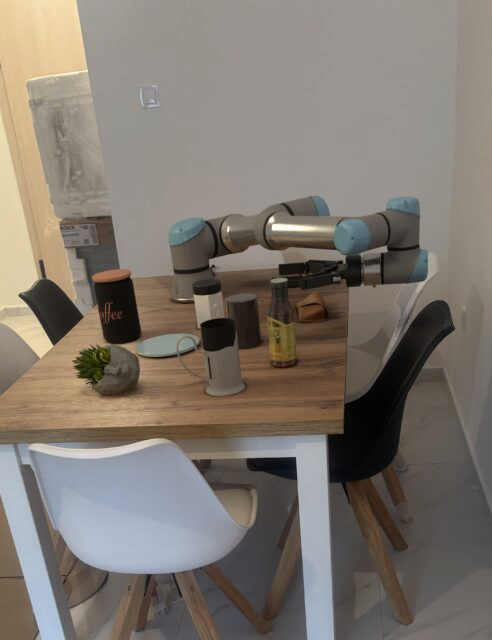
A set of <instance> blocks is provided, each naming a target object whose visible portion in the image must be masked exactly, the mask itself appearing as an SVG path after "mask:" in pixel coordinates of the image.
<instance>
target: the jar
mask: <svg viewBox="0 0 492 640" xmlns="http://www.w3.org/2000/svg"><path fill="white" fill-rule="evenodd" d="M222 287H223V286H222V281H221V280H220V279H218V278H214V279H205V280H200V281H196V282H194V283H193V284H192V289H193V294H194V309H195V316H196V324H197V329H198V330H201V328H200V324H201V323H203V322H205V321H207V320H211V319H216V318H226V317H225V306H224V299H223V291H222V290H223V289H222Z"/></svg>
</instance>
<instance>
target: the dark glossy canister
mask: <svg viewBox="0 0 492 640" xmlns="http://www.w3.org/2000/svg"><path fill="white" fill-rule="evenodd" d="M225 307H226V308H225V309H226V316H227V317H226V318H230V319H233V320H234V321H235V330H236V333H237V340H238V349H239V350H246V349H247V350H248V349H252V348H256V347H259V346H260V345H261V344H262V334H261V325H260V323H261V322H260V314H259V313H260V312H259V302H258V295H257V294H254V293H239V294H233V295H230V296H228V297H226V298H225Z"/></svg>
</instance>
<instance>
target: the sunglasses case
mask: <svg viewBox="0 0 492 640" xmlns="http://www.w3.org/2000/svg"><path fill="white" fill-rule="evenodd" d="M294 307H295V309H296V311H297V314H298V321H299V322H301V323H318V322H325V321H327V320H328V318H329V317H330V312H329V310H328V306H327V304H326V302H325V300H324V298H323V296H322V295H321V293H320V292H319V291H318V290H315V291H313V292H312V293H310V294H309V295H308V296H307V297H305V298H304V299H302V300H301V301H299V302H297V303H295V304H294Z"/></svg>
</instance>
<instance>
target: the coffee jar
mask: <svg viewBox="0 0 492 640" xmlns="http://www.w3.org/2000/svg"><path fill="white" fill-rule="evenodd" d="M131 276H132V270H130V269H127V268H126V269H125V268H116V269H109V270H104V271H101V272H97V273H95V274H93V275H92V276H91V279H92V281H93V282H94V285H93V291H94V296H95V301H96V306H97V311H98V315H99V316H98V317H99V320H100V321H99V322H100V326H101V332H102V336H103V339H104V341H106V342H107V344H110V345H121V344H127V343H131V342H134V341H136V340H138V339H139V338H140V336H141V335H142V327H141V322H140V317H139V310H138V303H137V299H136V293H135V286H134V282H133V279H132V278H131Z"/></svg>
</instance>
